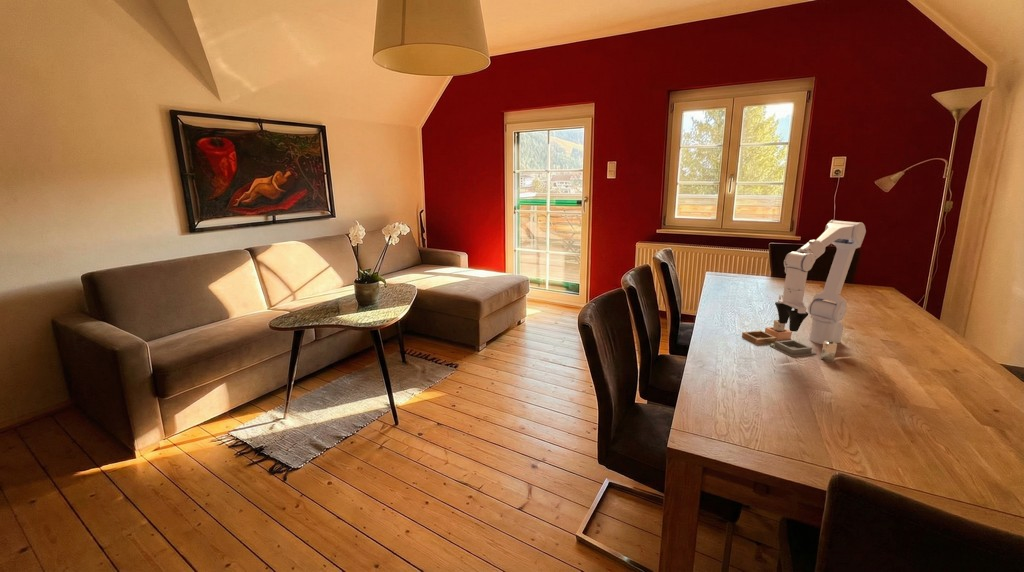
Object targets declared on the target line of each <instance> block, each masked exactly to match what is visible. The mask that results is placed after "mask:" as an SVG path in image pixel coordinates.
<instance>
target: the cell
mask: <svg viewBox="0 0 1024 572" xmlns="http://www.w3.org/2000/svg"><path fill="white" fill-rule="evenodd" d="M837 348H838V343H835V342H832V341H824V343H823V344H822V351H821V355H820V359H821V360H822V361H824V362H827V363H829V362H830V363H833V362H835V358H836V352H837Z"/></svg>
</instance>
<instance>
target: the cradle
mask: <svg viewBox="0 0 1024 572" xmlns="http://www.w3.org/2000/svg"><path fill="white" fill-rule="evenodd" d="M769 347H770V348H773V350H774V349H775V350H777V351H779V352H780V353H783V354H785V355H787V356H789V357H791V358H796V357H806V356H815V355H817V353H816V352H814V351H812V350H813V347H810V346H809V345H806V344H804V343H802V342H799V341H797V340H794V339H786V340H776V342H775V343H770V345H769Z"/></svg>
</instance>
